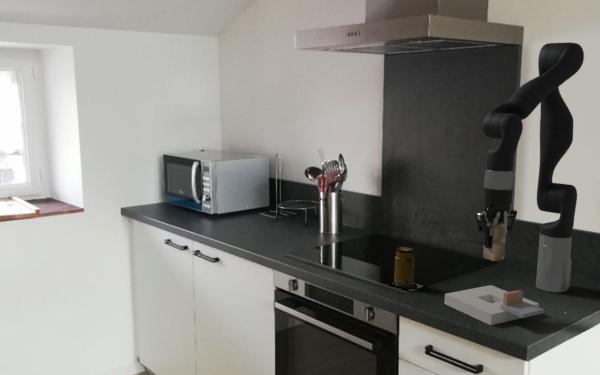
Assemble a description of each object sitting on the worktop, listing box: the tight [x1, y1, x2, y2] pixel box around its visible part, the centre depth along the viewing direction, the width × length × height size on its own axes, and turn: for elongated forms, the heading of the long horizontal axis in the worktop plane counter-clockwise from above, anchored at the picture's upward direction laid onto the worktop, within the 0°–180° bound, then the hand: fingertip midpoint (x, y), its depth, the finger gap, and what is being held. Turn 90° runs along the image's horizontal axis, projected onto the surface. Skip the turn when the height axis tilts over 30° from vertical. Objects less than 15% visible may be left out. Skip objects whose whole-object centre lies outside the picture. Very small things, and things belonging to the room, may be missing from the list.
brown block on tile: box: [500, 289, 545, 319], centre depth 159 cm, size 8×8×4 cm
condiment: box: [393, 246, 424, 292], centre depth 188 cm, size 7×8×12 cm
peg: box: [482, 222, 508, 262], centre depth 167 cm, size 4×4×10 cm
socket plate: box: [444, 284, 540, 326], centre depth 170 cm, size 18×18×3 cm
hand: (494, 246), depth 167 cm, fingers closed on peg, 4 cm apart
